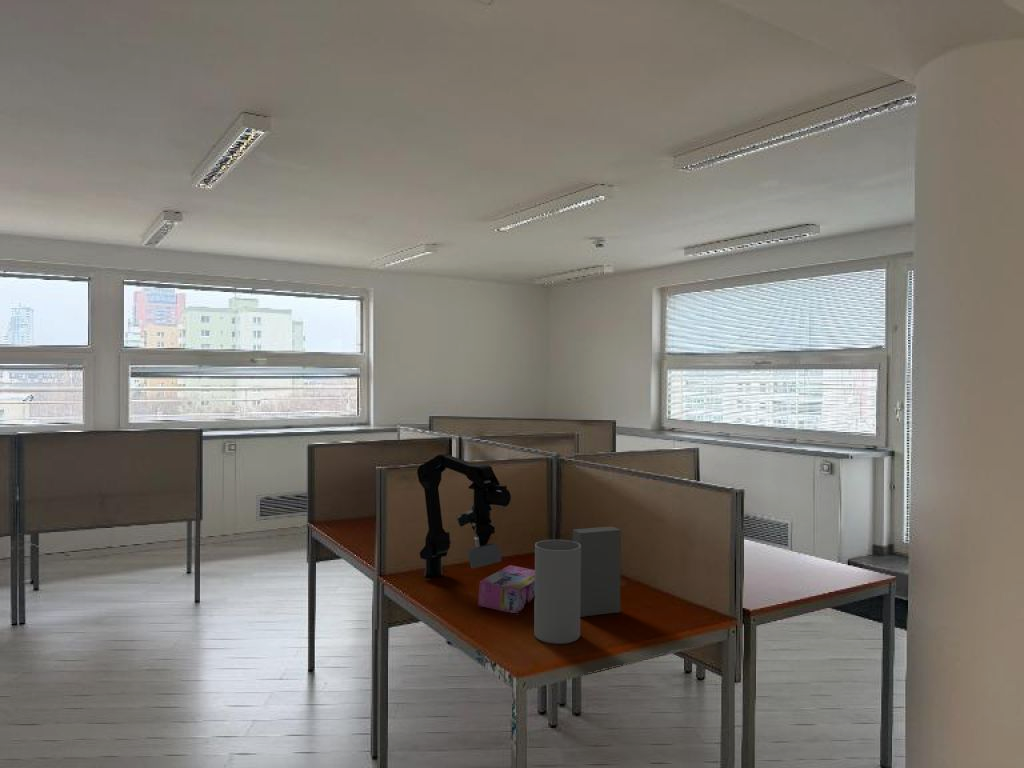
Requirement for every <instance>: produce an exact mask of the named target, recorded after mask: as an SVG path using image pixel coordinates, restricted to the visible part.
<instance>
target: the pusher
mask: <svg viewBox="0 0 1024 768" xmlns="http://www.w3.org/2000/svg"><path fill="white" fill-rule="evenodd" d="M473 538H474V543H475V547H471V548H468V549H467V550H466V551H467V555H468V559H469V564H470V567H471V570H473V569H477V568H482V567H484V566H488V565H492V564H496V563H501V562H502V555H501V552H500V546H499V543H498V541H494V542H491V543H487V545H483V546H480V544H479V538H478V536H477V535H476V536H474V537H473Z"/></svg>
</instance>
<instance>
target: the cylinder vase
mask: <svg viewBox="0 0 1024 768" xmlns="http://www.w3.org/2000/svg"><path fill="white" fill-rule="evenodd" d="M534 570H535V598H534V600H533V601H534V609H533V610H534V611H533V612H534V613H533V615H534V617H533V621H534V625H533V628H534V629H533V630H534V631H533V634H534V636H535V638H536V639H537V640H539V641H540V642H542V643H543V642H544V643H546V644H554V645H564V644H571V643H574V642H575V641H577V640H578V639H579V638H580V636H581V618H580V599H581V545H580V544H579V543H577V542H573V540H566V539H546V540H540V541H537V542H535V544H534Z"/></svg>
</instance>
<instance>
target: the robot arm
mask: <svg viewBox="0 0 1024 768" xmlns="http://www.w3.org/2000/svg"><path fill="white" fill-rule="evenodd" d="M447 469H449V470H452V471H454V472H456V473H459V474H462V475H464V476H466V478H467V479H468V480H469V481H470V482H472V483H471V484H470V485H469V486H468V489H470V490H473V504H472V506H471V510H467V511H464V512H461V513H459V514H457V515H456V516H455V517H456V519H457V523H458V525H459V527H461V528H462V527H464V526H465V525H468V524H470V525H472V526H471V529H472V530H473V532H474V534H476V536H478V538H479V544H480V546H483V545H487V544H489V540H490V539H491V536H492V534H495V533H496V527H495V526H494V525H493V524H492V518H491V511H492V506H498V507H503V508H506V507H508V506H509V504H510V503H511V499H512V495H511V492H510V491H509V489H507V488H508V486H507V485H504V484H503V485H501V483H500V481H499V479H498V478H497V476H496V474H495V472H494V470H493V467H492V466H491V465H489V464H484V463H472V462H469V461H466V460H464V459H460V458H458V457H456V456H452V455H451V454H450V453H440V454H437V455H436V456H435V457H433V458H432V459H430V460H429V461H426V462H425V463H422V464H420V465H419V466H418V468H417V471H416V472H417V478H418V481H419V484H420V485H421V487H422V488H423V490H424V498H425V507H426V515H427V525H428V531H427V533H426V536H425V545H424V547H423V548H422V549H421V550H420V551H419V557H420V559H422V560H425V568H424V569H425V570H423V575H424V577H425V578H431V577H432V578H433V577H434V578H435V577H444V573H443V569H442V566H443V565H442V562H443V561H442V560H443V559H442V558H443V557H447V554H448V553H449V549H450V547H451V544H452V542H451V538H450V535H451V534H450V532H449V531H447V532H446V530H445V529H444V527H443V517H442V510H441V508H442V507H441V501H440V499H441V498H440V491H439V486H440V484H441V482H442V473H444V471H445V470H447Z"/></svg>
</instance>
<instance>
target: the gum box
mask: <svg viewBox="0 0 1024 768" xmlns="http://www.w3.org/2000/svg"><path fill="white" fill-rule="evenodd" d="M478 587H479V588H478V603H477V605H478V607H483V608H487V609H492V610H495V611H499V612H504V613H508V612H510V613H509V614H512V613H517V614H516V615H519V614H518V613H520V612H521V611H520V610H521V609H524V607H525V606H526V605H525V602H527V603H528V602H530V601H531V600H534V599H533V597H534V596H535V569H531V568H526V567H522V566H516V565H510V564H509V565H507V566H506V567H504V568H501V569H500V570H498V571H497V572H495V573H492V574H491V575H489V576H487V577H485V578H483V579H481V580H480V581H479V585H478ZM531 602H532V601H531ZM531 602H530V603H531ZM519 611H520V612H519Z"/></svg>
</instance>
